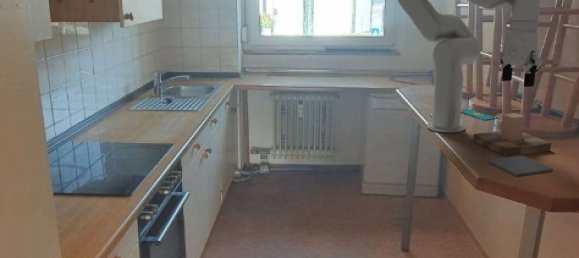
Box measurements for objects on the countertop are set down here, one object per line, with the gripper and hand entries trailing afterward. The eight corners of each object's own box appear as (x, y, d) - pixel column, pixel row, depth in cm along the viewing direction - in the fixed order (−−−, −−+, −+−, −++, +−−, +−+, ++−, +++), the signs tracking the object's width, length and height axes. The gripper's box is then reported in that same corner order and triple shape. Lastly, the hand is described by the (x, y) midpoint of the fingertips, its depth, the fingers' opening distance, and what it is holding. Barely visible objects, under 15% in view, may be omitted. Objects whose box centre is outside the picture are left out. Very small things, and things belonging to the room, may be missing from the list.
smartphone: (484, 119, 187) (457, 110, 200) (483, 121, 187) (457, 112, 201) (499, 117, 189) (472, 108, 203) (499, 119, 190) (472, 110, 203)
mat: (487, 161, 145) (487, 159, 144) (521, 157, 148) (522, 155, 148) (515, 176, 134) (515, 174, 133) (552, 170, 137) (553, 168, 136)
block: (499, 144, 160) (502, 114, 157) (511, 143, 161) (514, 113, 158) (509, 148, 155) (512, 117, 153) (521, 147, 157) (524, 116, 154)
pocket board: (472, 141, 163) (473, 133, 163) (514, 136, 167) (515, 129, 167) (505, 156, 149) (506, 148, 148) (550, 150, 153) (551, 143, 152)
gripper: (493, 24, 155) (488, 79, 159) (533, 29, 139) (527, 89, 143) (514, 23, 156) (508, 77, 161) (556, 28, 140) (548, 87, 145)
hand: (517, 83), depth 152 cm, fingers open, 9 cm apart
